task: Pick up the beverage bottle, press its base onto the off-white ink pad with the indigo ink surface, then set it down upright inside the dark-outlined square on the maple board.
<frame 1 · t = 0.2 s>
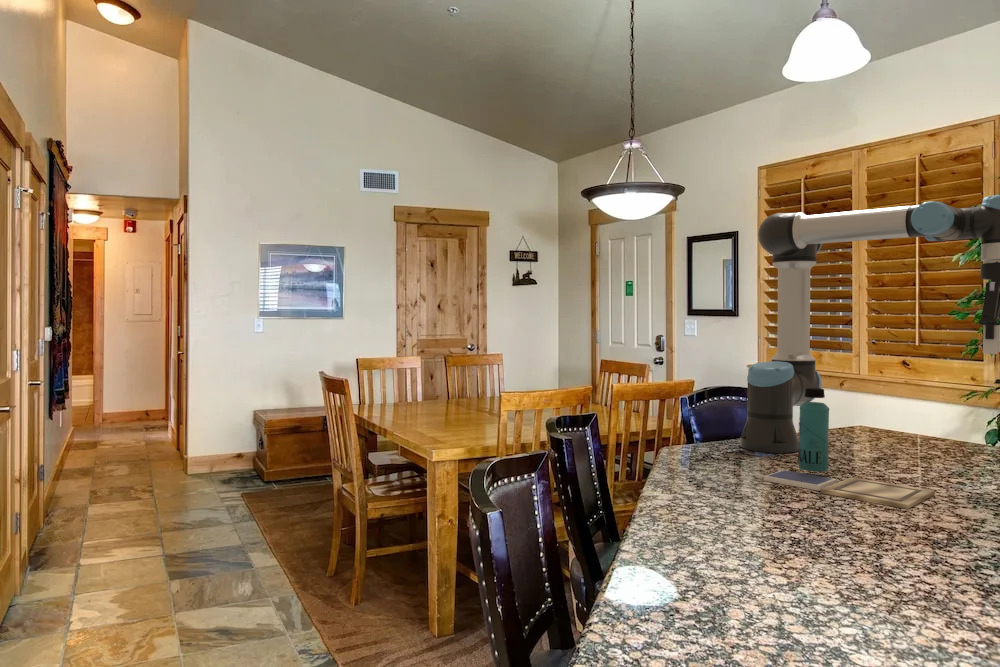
hand: (997, 353, 164), 28 cm above the kitchen island, fingers open, 13 cm apart
beverage bottle: (813, 476, 159), on the kitchen island
mark board: (877, 493, 143), on the kitchen island
ink pad: (800, 482, 152), on the kitchen island
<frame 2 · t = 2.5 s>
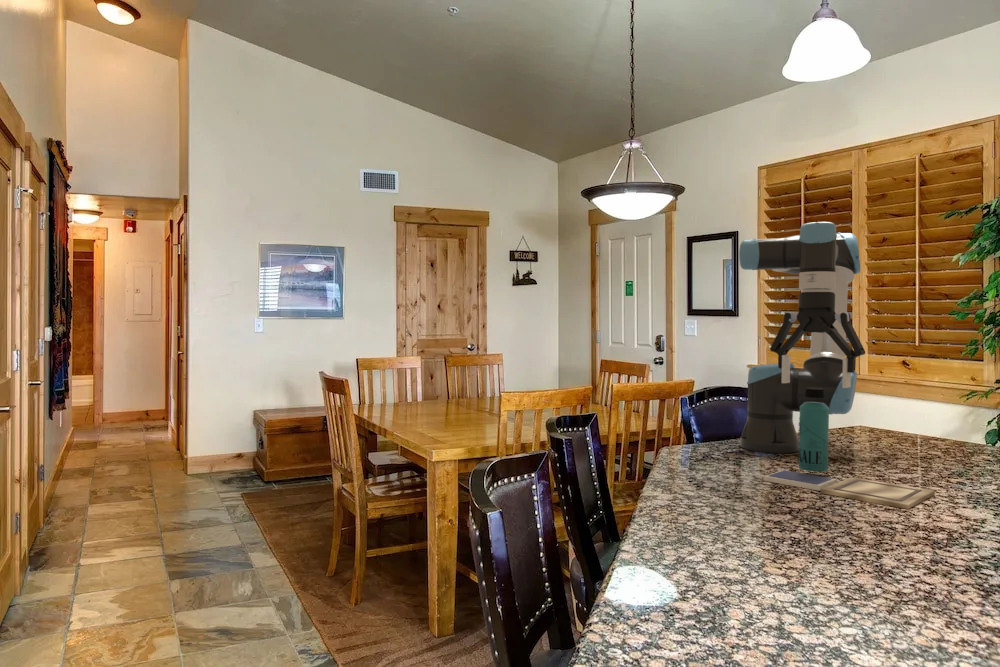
hand: (815, 385, 159), 21 cm above the kitchen island, fingers open, 13 cm apart
nothing on the kitchen island moved.
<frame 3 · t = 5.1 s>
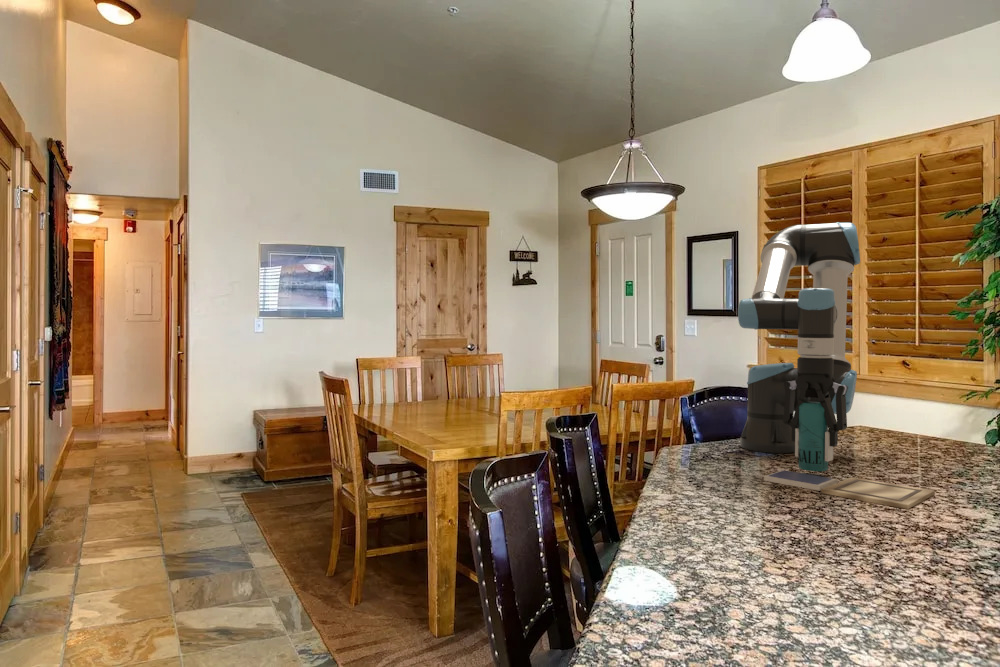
hand: (813, 458, 159), 4 cm above the kitchen island, fingers closed on beverage bottle, 6 cm apart
beverage bottle: (813, 476, 159), on the kitchen island, touching gripper
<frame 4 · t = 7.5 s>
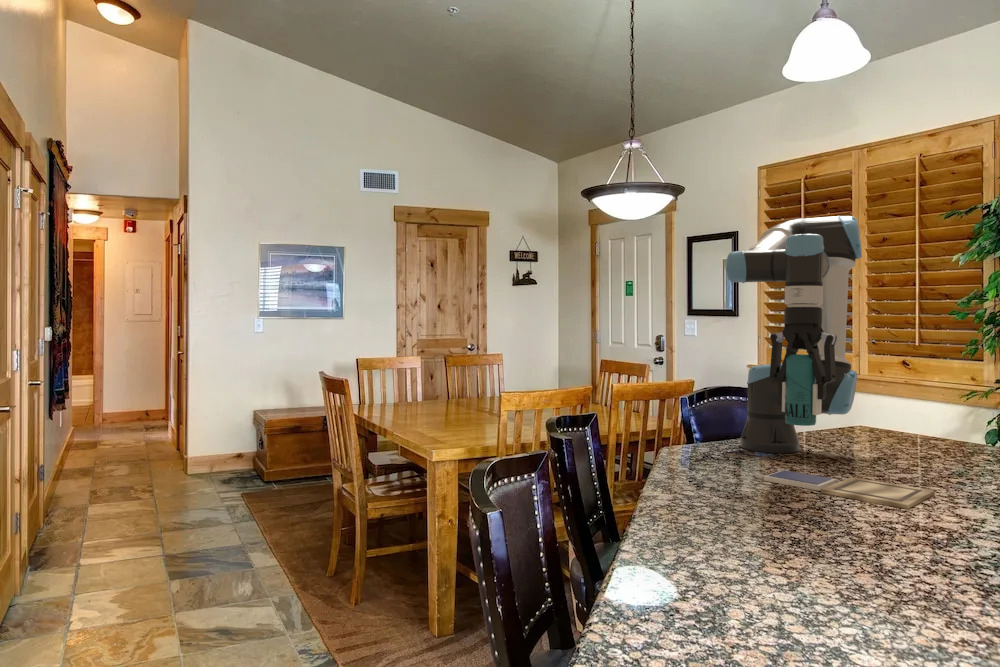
hand: (801, 412, 152), 15 cm above the kitchen island, fingers closed on beverage bottle, 6 cm apart
beverage bottle: (800, 431, 152), point 11 cm above the kitchen island, touching gripper
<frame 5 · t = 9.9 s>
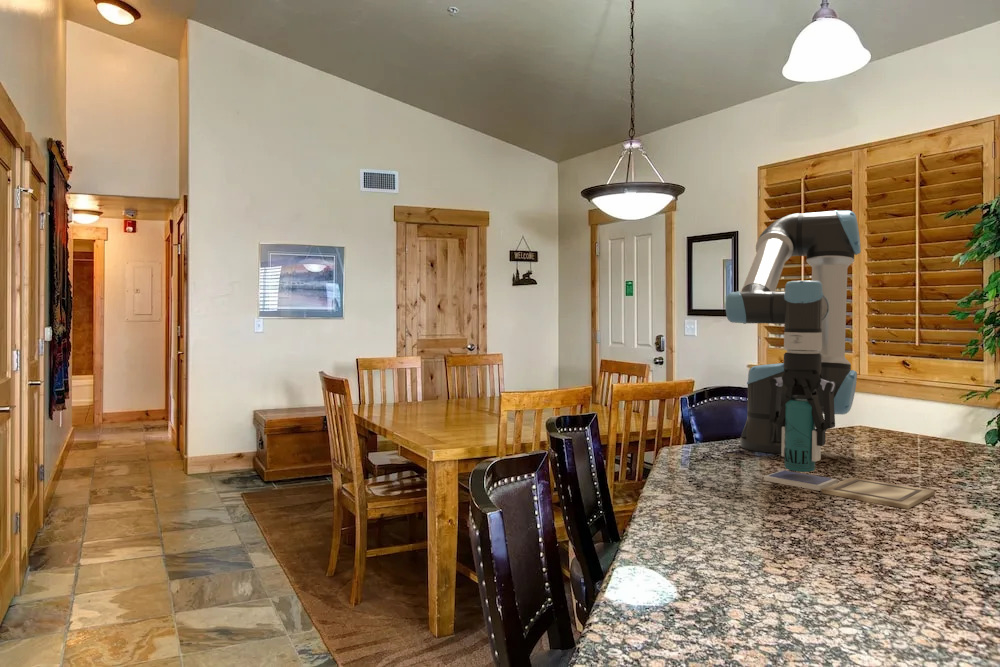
hand: (800, 457, 152), 5 cm above the kitchen island, fingers closed on beverage bottle, 6 cm apart
beverage bottle: (799, 476, 153), point 1 cm above the kitchen island, touching gripper
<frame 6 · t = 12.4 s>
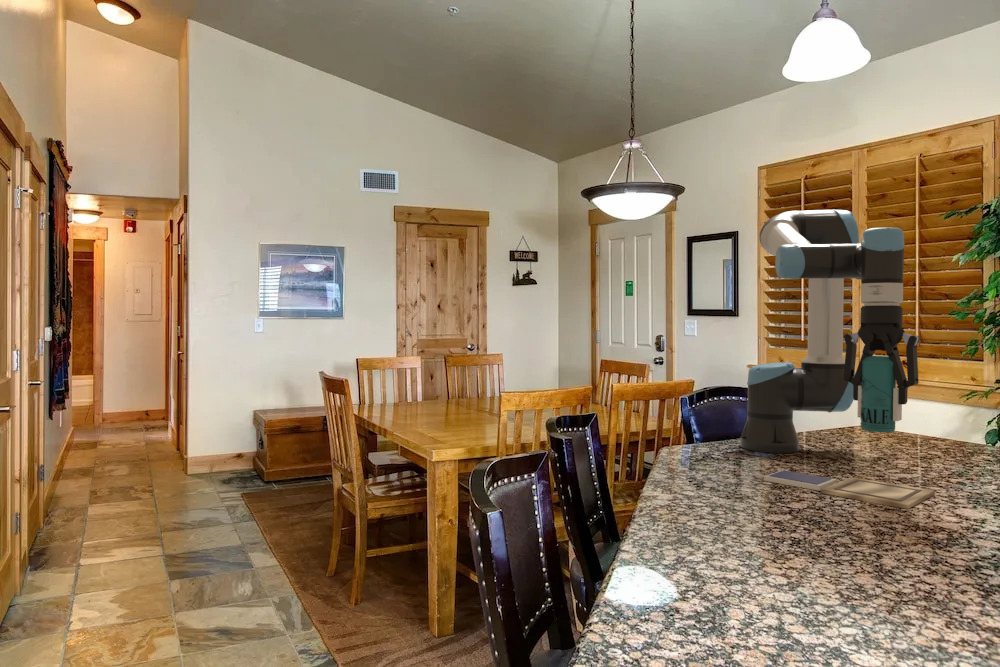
hand: (879, 418, 142), 15 cm above the kitchen island, fingers closed on beverage bottle, 6 cm apart
beverage bottle: (877, 438, 143), point 11 cm above the kitchen island, touching gripper
when the fingers open (6 cm above the kitchen island, at t = 14.7 s): beverage bottle drops 1 cm, resting on mark board.
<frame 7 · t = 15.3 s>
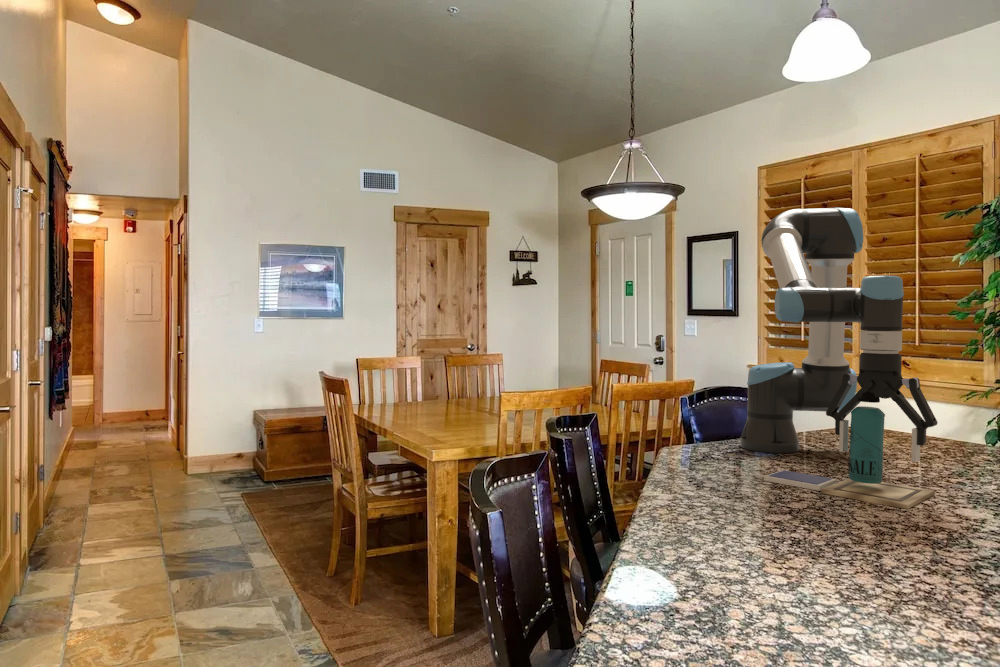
hand: (878, 456, 143), 8 cm above the kitchen island, fingers open, 13 cm apart
beverage bottle: (864, 488, 145), point 1 cm above the kitchen island, touching mark board
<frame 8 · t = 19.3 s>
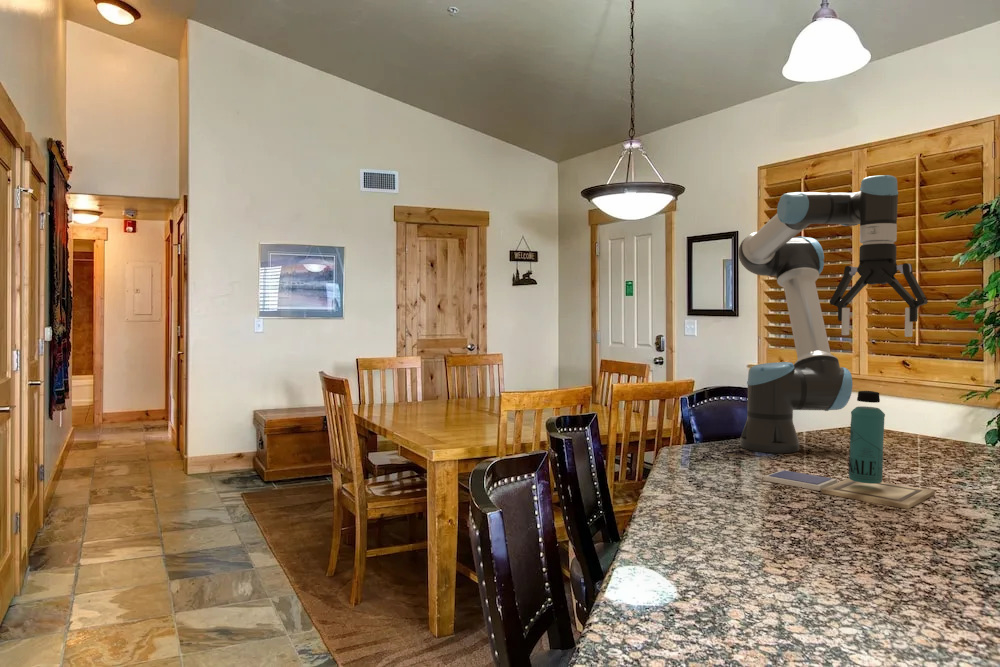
hand: (876, 336, 162), 32 cm above the kitchen island, fingers open, 13 cm apart
nothing on the kitchen island moved.
at the end: beverage bottle inside the target area on the mark board (2.5 cm from its centre), point 0.7 cm above the mark board's base; beverage bottle tilted 1°; the gripper is holding nothing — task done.
